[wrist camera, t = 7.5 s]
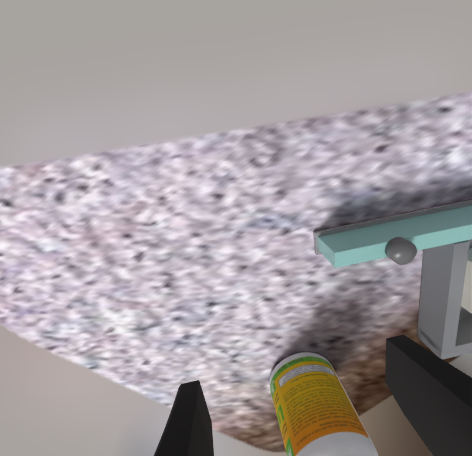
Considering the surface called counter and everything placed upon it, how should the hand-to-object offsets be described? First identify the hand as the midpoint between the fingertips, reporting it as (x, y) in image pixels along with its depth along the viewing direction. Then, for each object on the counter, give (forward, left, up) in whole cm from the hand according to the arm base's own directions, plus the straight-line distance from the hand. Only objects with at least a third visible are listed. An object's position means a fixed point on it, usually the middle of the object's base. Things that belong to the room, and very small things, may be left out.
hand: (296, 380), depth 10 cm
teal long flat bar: (-11, 0, -10) cm, 15 cm away
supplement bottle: (-2, +12, -10) cm, 16 cm away
